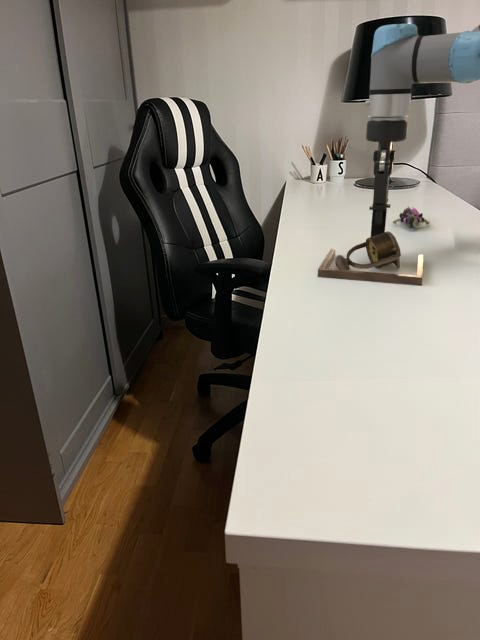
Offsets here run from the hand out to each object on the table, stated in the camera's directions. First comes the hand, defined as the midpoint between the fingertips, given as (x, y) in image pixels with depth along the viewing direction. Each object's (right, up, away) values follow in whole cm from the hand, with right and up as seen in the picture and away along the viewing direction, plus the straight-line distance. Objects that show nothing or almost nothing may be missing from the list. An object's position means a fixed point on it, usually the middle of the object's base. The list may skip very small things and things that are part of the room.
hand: (377, 240), depth 105 cm
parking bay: (-2, -6, -4) cm, 8 cm away
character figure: (+16, +8, +27) cm, 33 cm away
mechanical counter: (-3, -6, -4) cm, 8 cm away
